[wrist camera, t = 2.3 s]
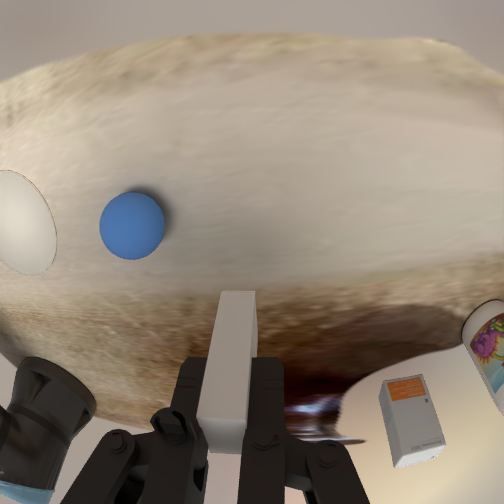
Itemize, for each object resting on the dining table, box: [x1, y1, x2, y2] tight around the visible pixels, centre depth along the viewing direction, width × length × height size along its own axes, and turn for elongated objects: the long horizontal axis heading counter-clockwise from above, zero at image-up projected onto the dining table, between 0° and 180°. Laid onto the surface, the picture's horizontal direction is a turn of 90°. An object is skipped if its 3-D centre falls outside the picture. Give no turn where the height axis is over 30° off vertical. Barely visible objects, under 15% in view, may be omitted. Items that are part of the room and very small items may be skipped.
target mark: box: [0, 170, 57, 275], centre depth 29 cm, size 13×13×1 cm
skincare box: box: [379, 374, 446, 468], centre depth 33 cm, size 6×4×12 cm
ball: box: [100, 192, 165, 260], centre depth 25 cm, size 6×6×6 cm
